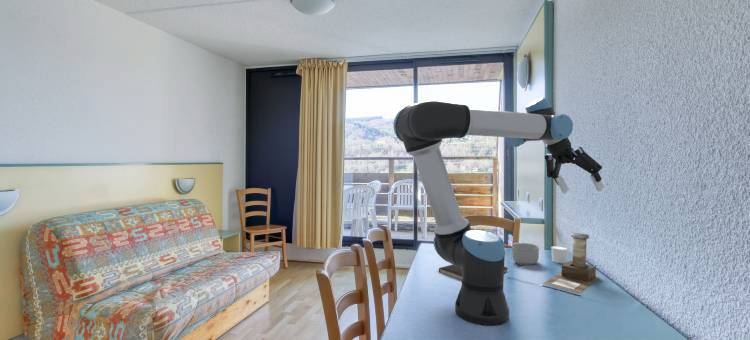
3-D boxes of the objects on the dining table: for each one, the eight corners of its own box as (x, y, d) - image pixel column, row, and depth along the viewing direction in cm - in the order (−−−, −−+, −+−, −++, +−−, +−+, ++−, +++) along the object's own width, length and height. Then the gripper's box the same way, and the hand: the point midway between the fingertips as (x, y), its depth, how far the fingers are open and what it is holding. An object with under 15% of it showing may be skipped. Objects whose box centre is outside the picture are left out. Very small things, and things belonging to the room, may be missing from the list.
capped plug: (584, 280, 131) (586, 236, 130) (567, 275, 135) (569, 234, 134) (589, 276, 135) (591, 234, 134) (572, 272, 139) (574, 232, 138)
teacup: (543, 268, 147) (543, 249, 147) (516, 267, 147) (517, 248, 147) (529, 258, 161) (529, 241, 161) (505, 258, 161) (505, 240, 161)
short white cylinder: (548, 261, 158) (548, 245, 157) (564, 261, 157) (565, 246, 156) (553, 265, 151) (554, 249, 151) (571, 266, 150) (571, 250, 150)
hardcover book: (508, 273, 142) (508, 267, 142) (471, 285, 128) (471, 279, 128) (475, 263, 155) (475, 258, 155) (438, 273, 141) (438, 267, 141)
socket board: (579, 296, 118) (580, 281, 117) (542, 286, 126) (542, 272, 126) (600, 280, 133) (600, 267, 133) (565, 272, 142) (566, 260, 142)
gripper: (594, 126, 115) (623, 182, 117) (533, 141, 138) (558, 187, 140) (582, 138, 112) (611, 194, 114) (521, 150, 135) (547, 197, 137)
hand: (582, 190), depth 127 cm, fingers open, 13 cm apart
